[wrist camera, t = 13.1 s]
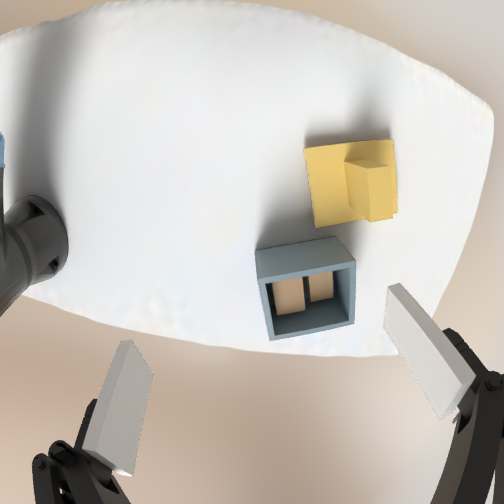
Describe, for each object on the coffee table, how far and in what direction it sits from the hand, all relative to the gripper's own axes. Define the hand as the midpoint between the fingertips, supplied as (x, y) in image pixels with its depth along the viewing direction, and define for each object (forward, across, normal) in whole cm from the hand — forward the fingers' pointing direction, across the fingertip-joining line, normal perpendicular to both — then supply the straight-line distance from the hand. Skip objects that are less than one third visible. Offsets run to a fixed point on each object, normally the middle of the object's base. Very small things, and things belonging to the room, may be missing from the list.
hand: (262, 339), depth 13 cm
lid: (+24, +15, 0) cm, 29 cm away
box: (+25, +6, -12) cm, 29 cm away
